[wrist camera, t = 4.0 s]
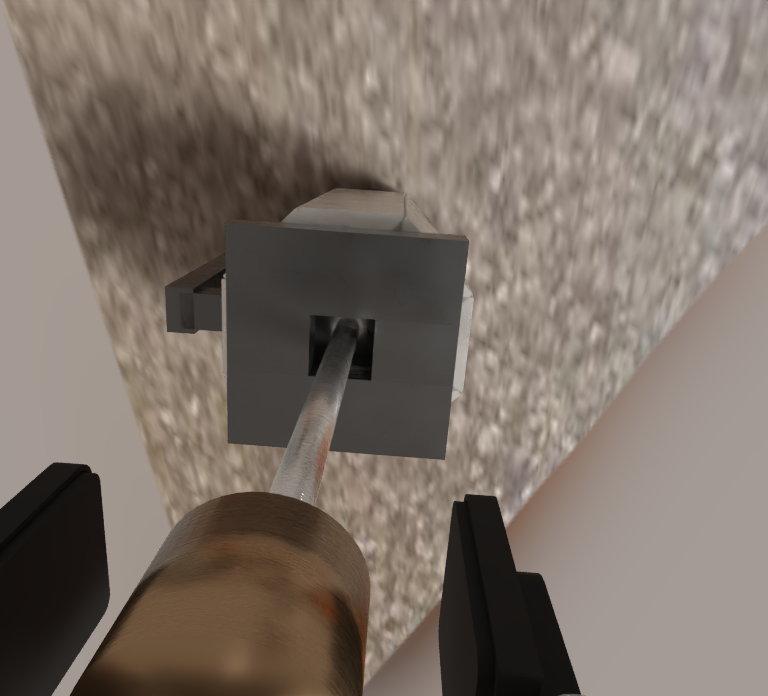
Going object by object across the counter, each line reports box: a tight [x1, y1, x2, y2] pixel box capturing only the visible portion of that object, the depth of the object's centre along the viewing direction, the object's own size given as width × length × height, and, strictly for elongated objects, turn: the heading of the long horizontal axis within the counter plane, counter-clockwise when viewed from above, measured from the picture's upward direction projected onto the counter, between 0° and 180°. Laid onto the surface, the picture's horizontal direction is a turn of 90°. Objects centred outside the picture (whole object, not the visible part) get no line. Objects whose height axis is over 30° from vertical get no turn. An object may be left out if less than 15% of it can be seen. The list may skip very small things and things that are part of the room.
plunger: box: [70, 315, 375, 696], centre depth 17 cm, size 7×7×20 cm
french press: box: [165, 188, 474, 460], centre depth 30 cm, size 13×10×16 cm
